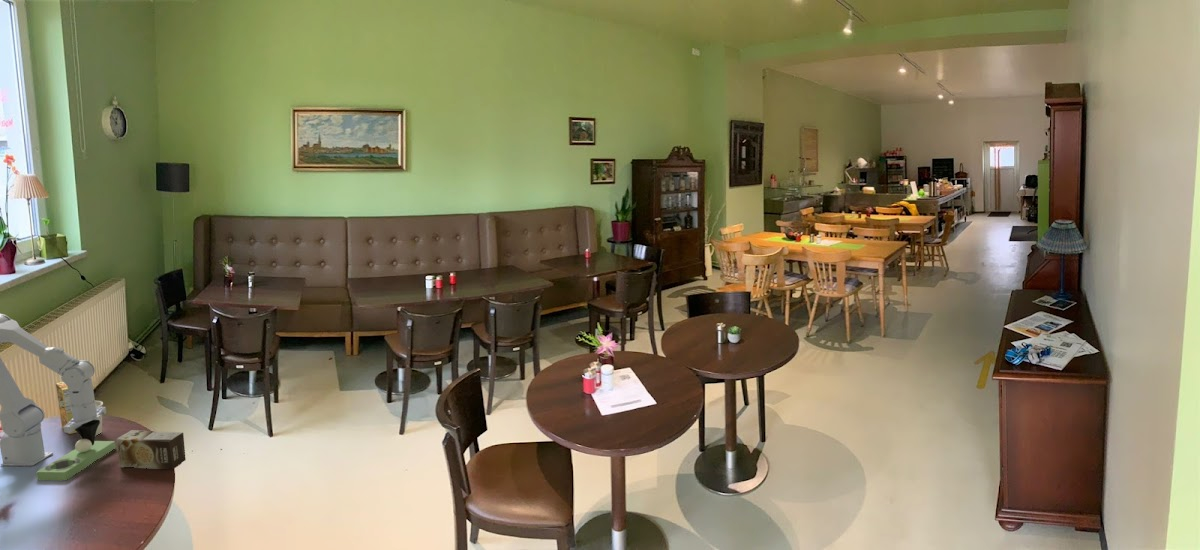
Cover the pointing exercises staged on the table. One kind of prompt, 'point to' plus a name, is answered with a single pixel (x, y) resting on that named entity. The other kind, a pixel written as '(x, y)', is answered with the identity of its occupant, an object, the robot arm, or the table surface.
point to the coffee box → (151, 449)
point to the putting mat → (74, 462)
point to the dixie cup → (99, 429)
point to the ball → (83, 445)
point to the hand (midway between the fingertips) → (89, 445)
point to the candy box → (64, 404)
